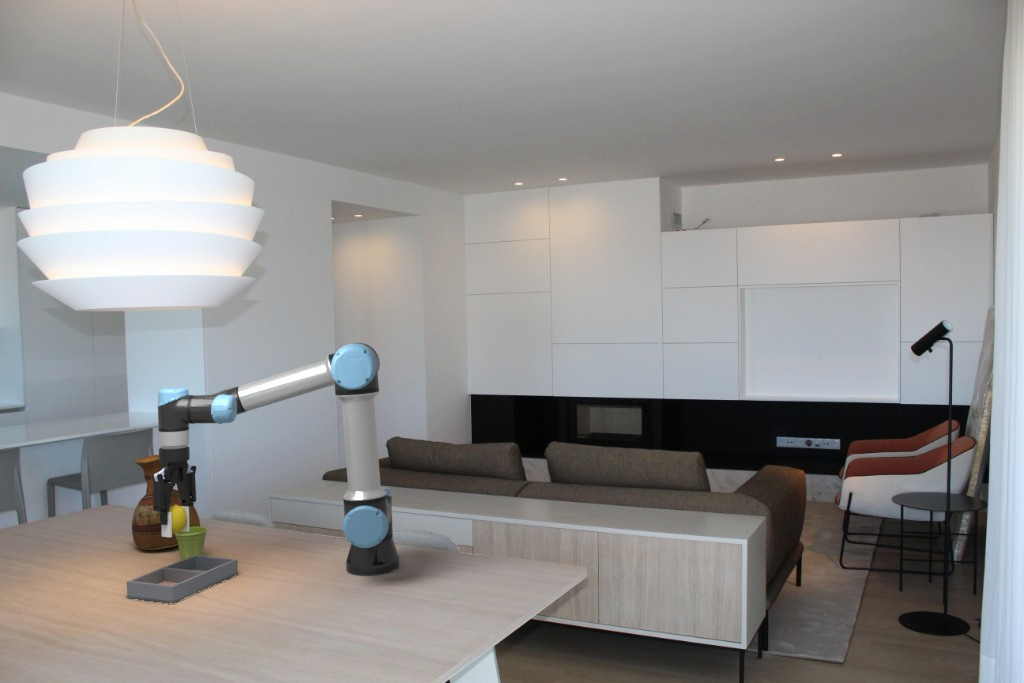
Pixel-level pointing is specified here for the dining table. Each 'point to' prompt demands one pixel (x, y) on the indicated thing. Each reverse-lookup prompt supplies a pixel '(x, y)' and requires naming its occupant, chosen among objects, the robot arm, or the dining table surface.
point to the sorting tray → (181, 579)
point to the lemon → (178, 518)
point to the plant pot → (191, 542)
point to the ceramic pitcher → (154, 512)
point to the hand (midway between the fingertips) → (175, 533)
